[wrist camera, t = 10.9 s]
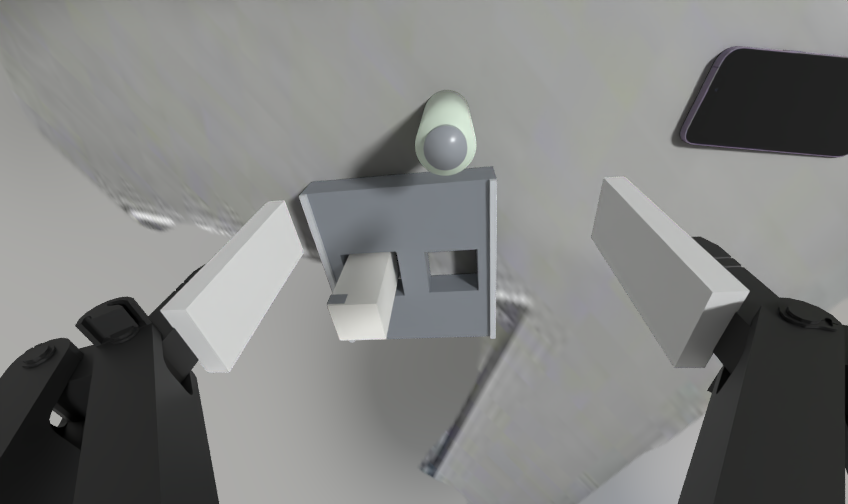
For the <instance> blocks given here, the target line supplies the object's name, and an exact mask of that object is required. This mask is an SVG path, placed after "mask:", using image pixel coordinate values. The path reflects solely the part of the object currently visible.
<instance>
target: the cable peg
mask: <svg viewBox="0 0 848 504" xmlns="http://www.w3.org/2000/svg"><path fill="white" fill-rule="evenodd" d="M415 151H416V155H417V157H418V160H419V161H420V163H421V164H422V165H423V167H425V168H426V169H427V170H428V171H430V172H432V173H434V174H437V175H442V176H448V175H453V174H456V173H459V172H461V171H462V170H464V169H465V168H466V167H467V166H468V165H469V164H470V163H471V161H472V159H473V157H474V155H475V152H476V138H475V133H474V129H473V124H472V120H471V115H470V111H469V106H468V104H467V102H466V100H465V99H464V97H463V96H462V95H460V94H459V93H457V92H455V91H451V90H443V91H440V92H437V93H435V94H434V95H433V96H432V97H431V98H430V99H429V100H428V102H427V103H426V106H425V109H424V112H423V116H422V119H421V122H420V126H419V129H418V133H417V136H416V140H415Z"/></svg>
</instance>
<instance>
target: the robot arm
mask: <svg viewBox="0 0 848 504" xmlns="http://www.w3.org/2000/svg"><path fill="white" fill-rule="evenodd" d="M591 238H592V240H593V241H594V243H595V244H596V246H597V248H598V249H599V251H600V252H601V254H602V255H603V257H604V259H605V260H606V262H607V263H608V265H609V266H610V268H611V269H612V271H613V273H614V274H615V276H616V277H617V279H618V280H619V282H620V284H621V285H622V287H623V288H624V290H625V291H626V293H627V295H628V296H629V298H630V299H631V301H632V302H633V304H634V306H635V307H636V309H637V310H638V312H639V313H640V315H641V316H642V318H643V320H644V321H645V323H646V324H647V326H648V327H649V329H650V331H651V332H652V334H653V335H654V337H655V338H656V340H657V342H658V343H659V345H660V346H661V348H662V349H663V351H664V353H665V354H666V356H667V357H668V359H669V360H670V362H671V364H672V365H673V367H674V368H705V366H706V365H707V363H708V361H709V360H710V358H711V356H712V354H713V353H714V354H715V355H716V356H717V357H718V359H719V360H720V361H721V363H722V364H723V366H722V368H721V370H720V371H719V373H718V374H717V376H716V377H715V379H714V381H713V382H712V384H711V385H710V387H709V388H708V390H707V391H709V392H711V393H712V395H711V398H710V401H709V404H708V408H707V411H706V414H705V417H704V421H703V424H702V427H701V430H700V433H699V437H698V440H697V443H696V447H695V450H694V453H693V456H692V459H691V463H690V466H689V469H688V472H687V475H686V479H685V482H684V485H683V488H682V491H681V495H680V498H679V501H678V504H845V468H846V470H847V473H848V326H846V325H842V324H841V323H840V322H839V321H838V320H837V319H836V318H835V317H834V316H833V315H831V314H829V313H828V312H826V311H824V310H823V309H821V308H819V307H817V306H814V305H811V304H809V303H806V302H804V301H799V300H795V299H790V298H779V297H778V296H777V295H776V294H774V293H773V292H772V291H771V290H770V289H769V288H767V287H766V286H765V285H764V284H763V283H762V282H760V281H759V280H758V279H757V278H756V277H755V276H753V275H752V274H751V273H750V272H749V271H748V270H746V269H745V268H744V267H741V265H740V264H739V263H738V262H737V261H736V260H735V259H733V258H731V256H730V255H729V254H728V253H726V252H725V251H724V250H723V249H722V248H721V247H719V246H718V245H716V244H714V243H712V242H710V241H708V240H706V239H704V238H702V237H690V236H689V235H688V234H687V233H686V232H685V231H684V230H683V229H682V228H681V227H679V226H678V225H677V224H676V223H675V222H674V221H673V220H672V219H671V218H670V217H669V216H667V215H666V214H665V213H664V212H663V211H662V210H661V209H660V208H659V207H658V206H656V205H655V204H654V203H653V202H652V201H651V200H650V199H649V198H648V197H647V196H646V195H644V194H643V193H642V192H641V191H640V190H639V189H638V188H637V187H636V186H635V185H634V184H632V183H631V182H630V181H629V180H628V179H627V178H626V177H625V176H620V177H606V178H603V183H602V188H601V192H600V197H599V202H598V207H597V211H596V216H595V221H594V226H593V231H592V235H591ZM303 253H304V251H303V248H302V246H301V243H300V240H299V238H298V235H297V232H296V230H295V227H294V224H293V222H292V219H291V216H290V214H289V211H288V208H287V206H286V203H285V200H281V201H268V202H267V203H266V204H265V205H264V206H263V207H262V208H261V209H260V210H259V211H258V212H257V213H256V214H255V215H254V216H253V217H252V218H251V219H250V220H249V221H248V222H247V223H246V224H245V225H244V226H243V227H242V228H241V229H240V230H239V231H238V232H237V233H236V234H235V235H234V236H233V237H232V238H231V239H230V240H229V241H228V242H227V243H226V244H225V245H224V246H223V247H222V248H221V249H220V250H219V251H218V252H217V253H216V255H214V256H213V257H212V258H211V259H210V260H209V261H208V262H207V263H206V264H205V265H203V266H202V267H200V268H198V269H197V270H195V271H194V272H193V273H192V274H191V275H190V276H189V277H188V278H187V279H186V280H185V281H184V283H182V284H181V285H180V286H179V287H178V288H177V289H176V291H174V292H173V293H172V294H171V295H170V296H169V297H168V298H167V299H166V300H165V301H163V302H162V303H161V305H159V306H158V307H157V308H156V309H155V311H153V312H152V313H151V314H150V315H149V316H147V315H146V313H145V312H144V311H143V310H142V309H141V307H140V306H139V305H138V303H137V302H136V301H135V300H134V298H131V297H120V298H116V299H113V300H109V301H107V302H105V303H102V304H100V305H98V306H96V307H95V308H93V309H91V310H90V311H88V312H87V313H85V315H83V316H82V317H81V318H80V319H79V320H78V322H77V324H76V325H75V326H76V327H77V328H78V329H79V330H80V331H81V332H82V333H83V334H84V335H85V336H86V337H87V338H88V339H89V340H90V341H91V342H92V343H93V344H94V345H91V346H87V347H83V348H80V349H78V348H77V347H76V346H75V345H74V344H73V343H72V342H71V341H70V340H69V339H66V338H58V339H53V340H50V341H47V342H45V343H41V344H38V345H36V346H35V347H34V348H31V349H29V350H27V351H26V352H25V353H24V354H23V355H21V356H20V357H19V358H17V359H16V360H15V361H14V362H13V363H12V364H11V365H10V366H9V368H8V369H7V370H6V371H5V373H4V374H3V375H2V377H1V378H0V504H219V501H218V495H217V489H216V484H215V478H214V472H213V467H212V461H211V456H210V450H209V445H208V439H207V434H206V428H205V422H204V417H203V411H202V406H201V400H200V394H199V389H198V383H197V378H196V376H195V374H194V373H193V372H192V371H191V370H192V368H193V366H195V364H196V363H197V361H199V362H200V364H201V365H202V366H203V367H204V369H205V370H206V371H207V372H230V371H231V369H232V367H233V366H234V364H235V363H236V361H237V359H238V358H239V356H240V354H241V353H242V351H243V350H244V348H245V346H246V345H247V343H248V342H249V340H250V338H251V337H252V335H253V334H254V332H255V330H256V329H257V327H258V326H259V324H260V322H261V321H262V319H263V317H264V316H265V314H266V313H267V311H268V309H269V308H270V306H271V304H272V303H273V301H274V300H275V298H276V297H277V294H278V293H279V291H280V290H281V289H282V287H283V285H284V284H285V282H286V280H287V279H288V277H289V276H290V274H291V272H292V271H293V269H294V267H295V266H296V264H297V263H298V261H299V260H300V258H301V256H302V255H303ZM52 410H53V411H54V412H56V413H57V414H58V415H60V416H61V417H62V420H61V422H60V424H59V426H58V427H56V426H53V425H52V424H50V420H49V419H50V415H51V412H52Z"/></svg>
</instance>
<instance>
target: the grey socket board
mask: <svg viewBox="0 0 848 504" xmlns="http://www.w3.org/2000/svg"><path fill="white" fill-rule="evenodd" d="M299 199H300V202H301V204H302V207H303V210H304V213H305V216H306V219H307V222H308V224H309V227H310V230H311V233H312V236H313V239H314V242H315V244H316V247H317V250H318V253H319V256H320V259H321V262H322V265H323V267H324V270H325V272H326V276H327V279H328V282H329V284H330V287H331V290H332V293H333V291H334V288H335V286H336V284H337V281H338V279H339V277H340V275H341V272H342V270H343V268H344V265H345V263H346V261H347V259H348V256H349V254H363V253H380V252H397V257H398V262H399V268H400V273H401V278H402V279H398V283H397V288H396V292H395V297H394V302H393V307H392V312H391V317H390V322H389V327H388V332H387V337H386V339H399V338H400V339H403V338H434V337H435V338H438V337H474V336H490V339H495V338H496V240H497V179H496V175H495V172H494V169H493V166H492V167H480V168H469V169H464V170H462V171H461V172H459V173H456V174H453V175H448V176H442V175H437V174H434V173H432V172H422V173H410V174H399V175H387V176H375V177H363V178H352V179H340V180H328V181H317V182H311V183H310V184H309V185H308V186H307V187H306V189H305V190H304V191H303V192H302V193H301V194H300V195H299ZM474 249H476V260H477V273H475V274H455V275H435V276H431V274H430V266H429V259H428V252H439V251H457V250H474ZM349 342H355V340H349Z"/></svg>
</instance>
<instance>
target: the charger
mask: <svg viewBox="0 0 848 504" xmlns="http://www.w3.org/2000/svg"><path fill="white" fill-rule="evenodd" d="M398 278H399V269H398V264H397V259H396V254H395V252H380V253H363V254H349V256H348V259H347V261H346V263H345V265H344V268H343V270H342V272H341V275H340V277H339V279H338V281H337V284H336V286H335V288H334V291H333V293H332V295H331V296H330V298H329V300H328V302H327V307H328V310H329V313H330V315H331V318H332V321H333V323H334V326H335V329H336V331H337V334H338V337H339V339H340V340H373V339H386V337H387V332H388V327H389V322H390V317H391V312H392V307H393V302H394V297H395V292H396V288H397V283H398Z"/></svg>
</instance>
